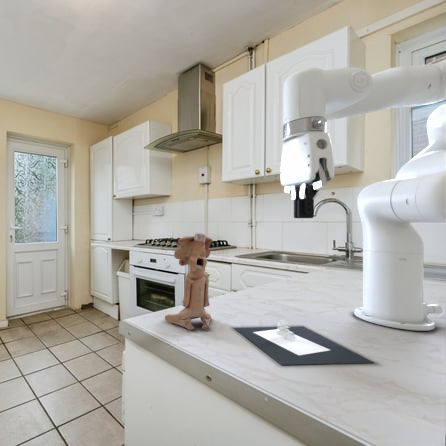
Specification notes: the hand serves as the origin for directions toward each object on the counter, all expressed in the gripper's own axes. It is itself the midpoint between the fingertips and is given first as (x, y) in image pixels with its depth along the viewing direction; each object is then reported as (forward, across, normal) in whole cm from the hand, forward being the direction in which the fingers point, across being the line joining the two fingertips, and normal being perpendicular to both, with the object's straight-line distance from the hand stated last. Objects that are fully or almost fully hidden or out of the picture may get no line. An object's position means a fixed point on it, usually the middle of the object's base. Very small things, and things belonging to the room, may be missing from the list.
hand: (303, 217), depth 59 cm
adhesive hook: (+23, -7, +8) cm, 26 cm away
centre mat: (+23, -8, +8) cm, 26 cm away
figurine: (+23, +2, +24) cm, 34 cm away
